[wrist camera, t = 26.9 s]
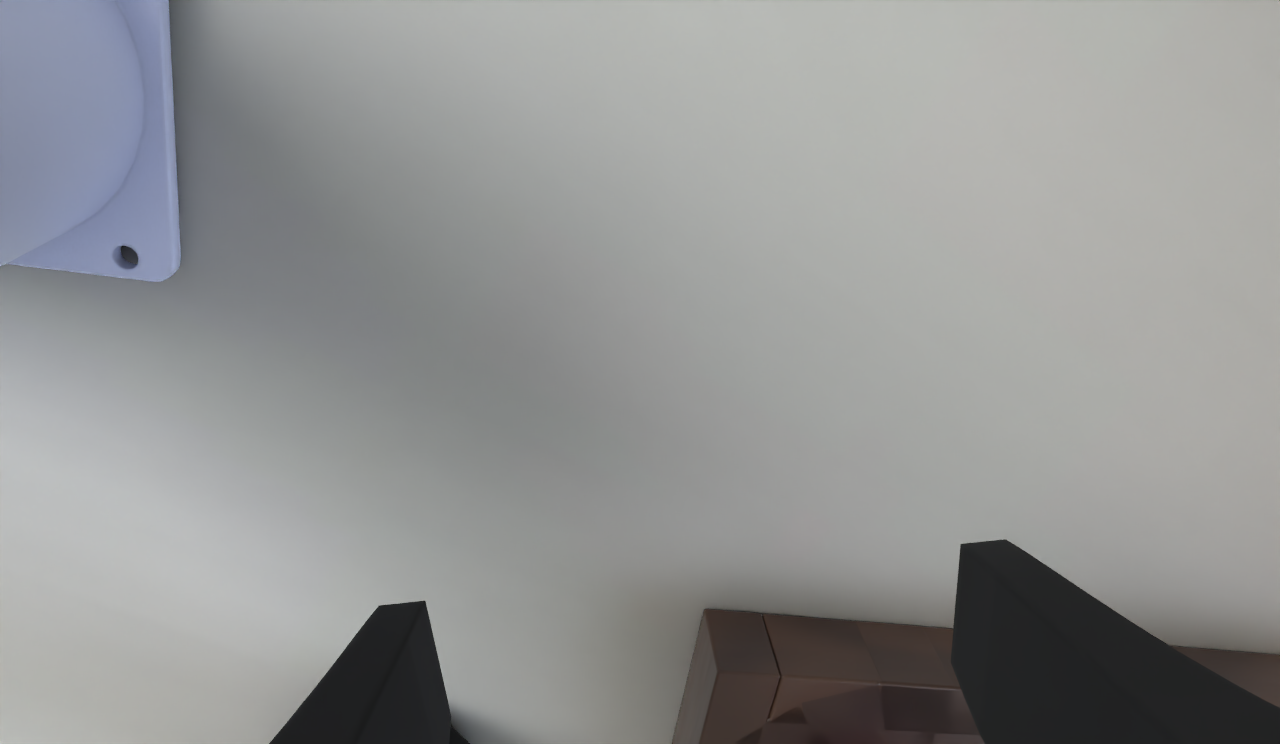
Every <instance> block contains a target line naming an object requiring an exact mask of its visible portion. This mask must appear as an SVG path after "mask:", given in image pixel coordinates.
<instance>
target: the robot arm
mask: <svg viewBox="0 0 1280 744" xmlns="http://www.w3.org/2000/svg"><path fill="white" fill-rule="evenodd" d="M124 245H125V246H127V247H130V248H132V249H133V250H134V251H135V252H136V253H137V255H138V258H139V261H138V264H133V263H131V262H128V261H127V260H126V259H125V258H124V257H123V256H122V253H121V246H124ZM180 262H181V247H180V227H179V206H178V185H177V164H176V143H175V122H174V101H173V81H172V60H171V39H170V18H169V0H0V267H1V266H3V265H4V264H11V265H19V266H27V267H35V268H44V269H52V270H60V271H68V272H76V273H85V274H93V275H101V276H109V277H117V278H126V279H134V280H142V281H150V282H158V281H163V280H165V279H167V278H169V277H171V276H172V275H173V274H174V273H175V272H176V271H177V270H178V268H179V267H180ZM951 664H952V667H953V670H954V672H955V675H956V677H957V680H958V682H959V685H960V688H961V690H962V693H963V695H964V698H965V700H966V703H967V705H968V708H969V710H970V712H971V715H972V717H973V720H974V722H975V724H976V727H977V729H978V731H979V733H980V735H981V737H982V739H983V741H984V743H985V744H1280V708H1279V707H1277V706H1275V705H1273V704H1271V703H1269V702H1267V701H1265V700H1263V699H1262V698H1260V697H1258V696H1256V695H1254V694H1252V693H1251V692H1249V691H1247V690H1245V689H1243V688H1241V687H1239V686H1238V685H1236V684H1234V683H1232V682H1230V681H1229V680H1227V679H1225V678H1224V677H1222V676H1220V675H1218V674H1217V673H1215V672H1213V671H1211V670H1210V669H1208V668H1206V667H1205V666H1203V665H1201V664H1199V663H1198V662H1196V661H1194V660H1193V659H1191V658H1189V657H1187V656H1186V655H1184V654H1182V653H1181V652H1179V651H1177V650H1176V649H1174V648H1172V647H1171V646H1169V645H1167V644H1166V643H1164V642H1163V641H1161V640H1159V639H1158V638H1156V637H1154V636H1153V635H1151V634H1150V633H1148V632H1146V631H1145V630H1143V629H1142V628H1140V627H1139V626H1137V625H1135V624H1134V623H1132V622H1131V621H1129V620H1128V619H1126V618H1125V617H1123V616H1121V615H1120V614H1118V613H1117V612H1115V611H1114V610H1112V609H1111V608H1109V607H1108V606H1106V605H1105V604H1103V603H1102V602H1100V601H1098V600H1097V599H1095V598H1094V597H1092V596H1091V595H1089V594H1088V593H1086V592H1085V591H1083V590H1082V589H1080V588H1079V587H1077V586H1076V585H1075V584H1073V583H1072V582H1070V581H1069V580H1067V579H1066V578H1064V577H1063V576H1061V575H1060V574H1058V573H1057V572H1055V571H1054V570H1052V569H1051V568H1049V567H1048V566H1046V565H1045V564H1043V563H1042V562H1040V561H1039V560H1037V559H1036V558H1034V557H1033V556H1031V555H1030V554H1028V553H1027V552H1025V551H1023V550H1022V549H1020V548H1019V547H1017V546H1015V545H1014V544H1012V543H1011V542H1009V541H1007V540H1006V539H1005V540H996V541H986V542H977V543H967V544H961V548H960V560H959V571H958V583H957V594H956V606H955V617H954V629H953V640H952V652H951ZM450 726H451V714H450V709H449V705H448V700H447V696H446V691H445V687H444V682H443V678H442V673H441V669H440V665H439V660H438V656H437V651H436V647H435V642H434V638H433V633H432V629H431V624H430V620H429V615H428V611H427V607H426V602H425V601H419V602H409V603H400V604H391V605H381V606H379V607H378V608H377V609H376V610H375V611H374V612H373V614H372V615H371V616H370V617H369V619H368V620H367V621H366V622H365V624H364V625H363V626H362V628H361V629H360V630H359V632H358V633H357V634H356V635H355V637H354V638H353V639H352V641H351V642H350V643H349V645H348V646H347V647H346V649H345V650H344V651H343V653H342V654H341V655H340V656H339V658H338V659H337V660H336V662H335V663H334V664H333V666H332V667H331V668H330V669H329V671H328V672H327V673H326V675H325V676H324V677H323V678H322V680H321V681H320V682H319V684H318V685H317V686H316V687H315V689H314V690H313V691H312V692H311V693H310V695H309V696H308V697H307V698H306V700H305V701H304V702H303V703H302V705H301V706H300V707H299V708H298V710H297V711H296V712H295V713H294V714H293V716H292V717H291V718H290V719H289V721H288V722H287V723H286V724H285V726H284V727H283V728H282V729H281V730H280V732H279V733H278V734H277V735H276V736H275V737H274V739H273V740H272V741H271V742H270V743H269V744H449V738H450Z"/></svg>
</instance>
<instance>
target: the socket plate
mask: <svg viewBox="0 0 1280 744" xmlns="http://www.w3.org/2000/svg"><path fill="white" fill-rule="evenodd" d="M952 640H953V629H948V628H936V627H923V626H914V625H901V624H889V623H876V622H864V621H852V620H850V621H848V620H836V619H823V618H811V617H798V616H786V615H774V614H763V615H761V614H760V613H751V612H738V611H726V610H714V609H705V610H704V612H703V616H702V620H701V624H700V628H699V632H698V637H697V641H696V645H695V649H694V653H693V657H692V662H691V666H690V670H689V674H688V678H687V683H686V687H685V691H684V695H683V699H682V703H681V708H680V712H679V716H678V720H677V724H676V728H675V732H674V736H673V740H672V744H985V743H984V741H983V739H982V737H981V735H980V733H979V731H978V729H977V727H976V724H975V722H974V720H973V717H972V715H971V712H970V710H969V708H968V705H967V703H966V700H965V698H964V695H963V693H962V690H961V688H960V685H959V682H958V680H957V677H956V675H955V672H954V670H953V667H952V664H951V652H952ZM1171 647H1172V648H1174V649H1176V650H1177V651H1179V652H1181V653H1182V654H1184V655H1186V656H1187V657H1189V658H1191V659H1193V660H1194V661H1196V662H1198V663H1199V664H1201V665H1203V666H1205V667H1206V668H1208V669H1210V670H1211V671H1213V672H1215V673H1217V674H1218V675H1220V676H1222V677H1224V678H1225V679H1227V680H1229V681H1230V682H1232V683H1234V684H1236V685H1238V686H1239V687H1241V688H1243V689H1245V690H1247V691H1249V692H1251V693H1252V694H1254V695H1256V696H1258V697H1260V698H1262V699H1263V700H1265V701H1267V702H1269V703H1271V704H1273V705H1275V706H1277V707H1279V708H1280V655H1276V654H1263V653H1251V652H1239V651H1226V650H1214V649H1201V648H1189V647H1176V646H1171Z"/></svg>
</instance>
